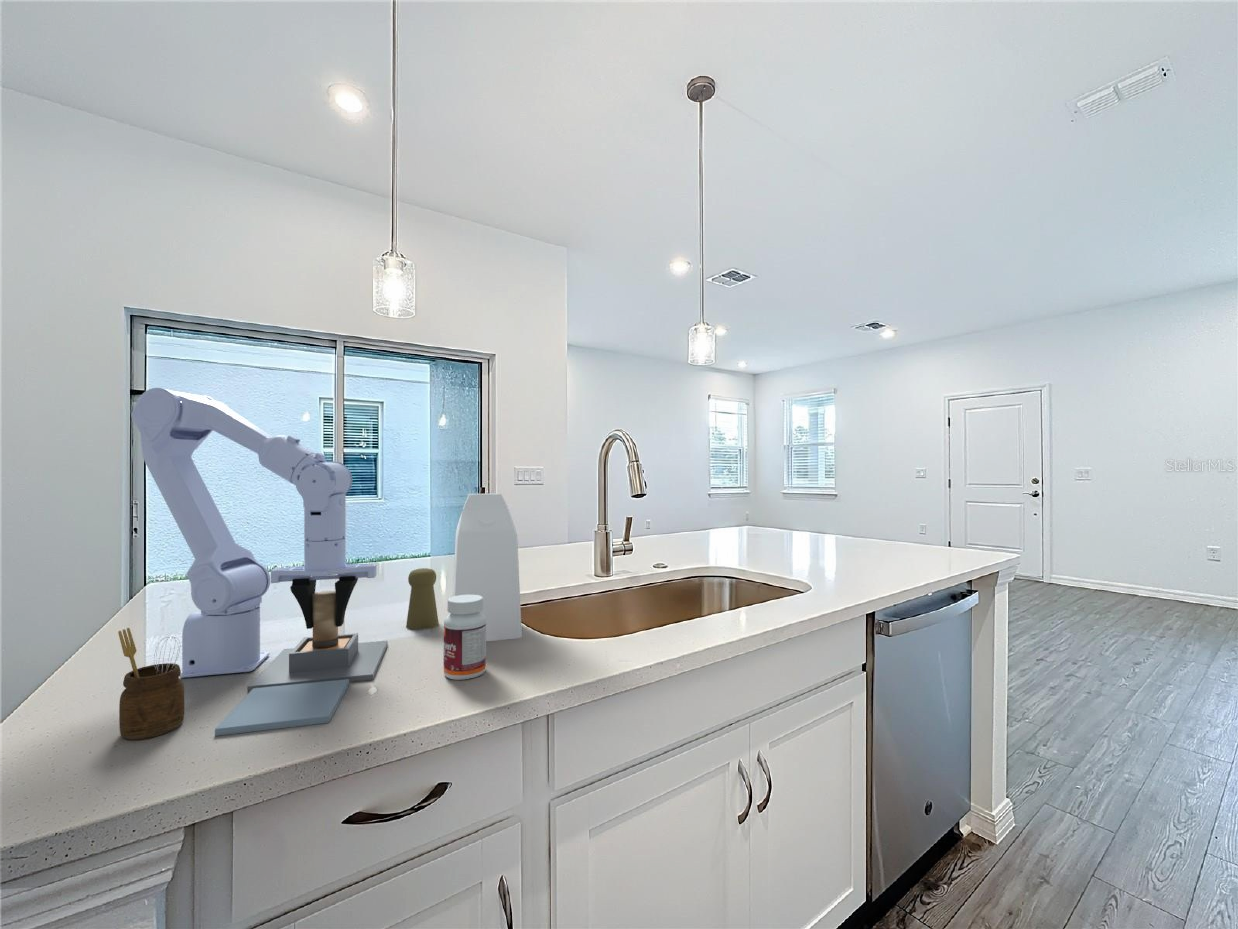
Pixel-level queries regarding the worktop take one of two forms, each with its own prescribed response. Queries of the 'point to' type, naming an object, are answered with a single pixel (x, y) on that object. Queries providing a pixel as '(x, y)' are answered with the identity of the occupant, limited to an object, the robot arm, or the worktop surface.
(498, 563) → the milk
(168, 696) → the utensil holder
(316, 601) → the rounded tan cylinder
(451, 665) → the pill bottle
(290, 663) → the breaker housing
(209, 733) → the worktop surface
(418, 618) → the cork
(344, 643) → the button
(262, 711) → the rubber mat
